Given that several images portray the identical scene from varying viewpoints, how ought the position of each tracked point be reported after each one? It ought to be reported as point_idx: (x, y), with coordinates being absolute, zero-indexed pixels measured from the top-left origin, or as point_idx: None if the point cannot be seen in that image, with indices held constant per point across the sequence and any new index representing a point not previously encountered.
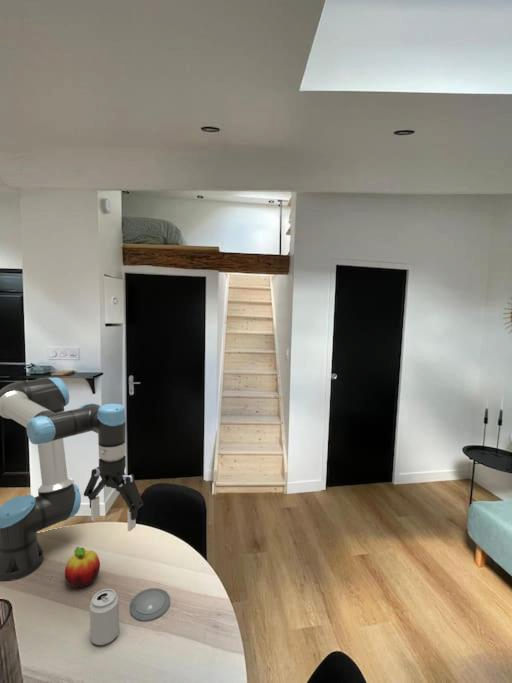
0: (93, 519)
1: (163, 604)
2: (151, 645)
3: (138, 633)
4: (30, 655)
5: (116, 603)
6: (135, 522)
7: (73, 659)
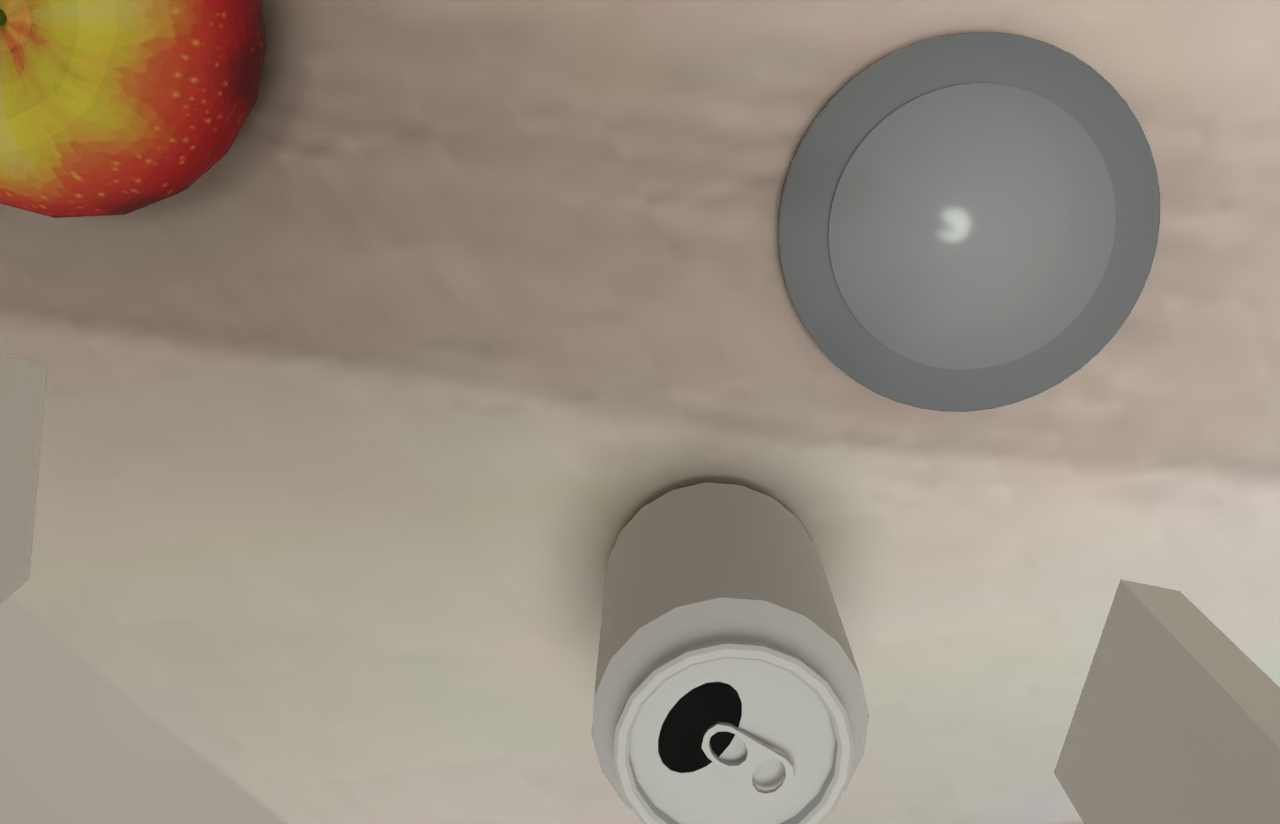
0: (12, 589)
1: (1113, 240)
2: (1111, 596)
3: (969, 516)
4: (271, 789)
5: (865, 726)
6: (1231, 651)
7: (590, 772)
